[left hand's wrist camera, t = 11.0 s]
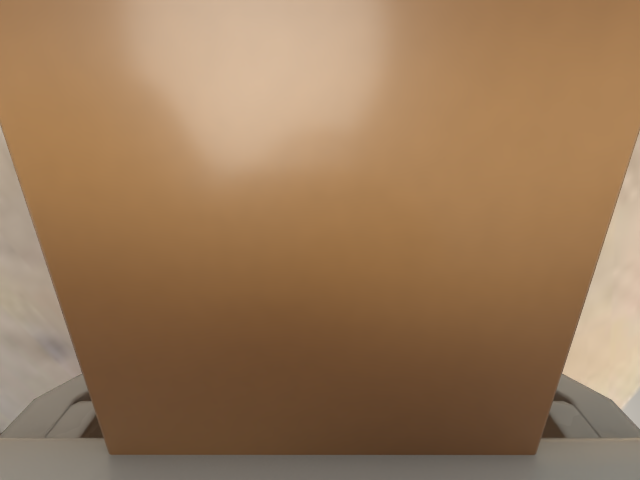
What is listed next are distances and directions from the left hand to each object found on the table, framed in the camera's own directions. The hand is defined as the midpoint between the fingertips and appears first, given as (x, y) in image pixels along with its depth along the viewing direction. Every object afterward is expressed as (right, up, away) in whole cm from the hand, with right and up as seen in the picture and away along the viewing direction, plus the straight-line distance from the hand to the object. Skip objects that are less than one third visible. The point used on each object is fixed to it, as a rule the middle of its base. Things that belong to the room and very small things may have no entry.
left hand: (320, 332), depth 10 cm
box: (0, +8, 0) cm, 8 cm away
